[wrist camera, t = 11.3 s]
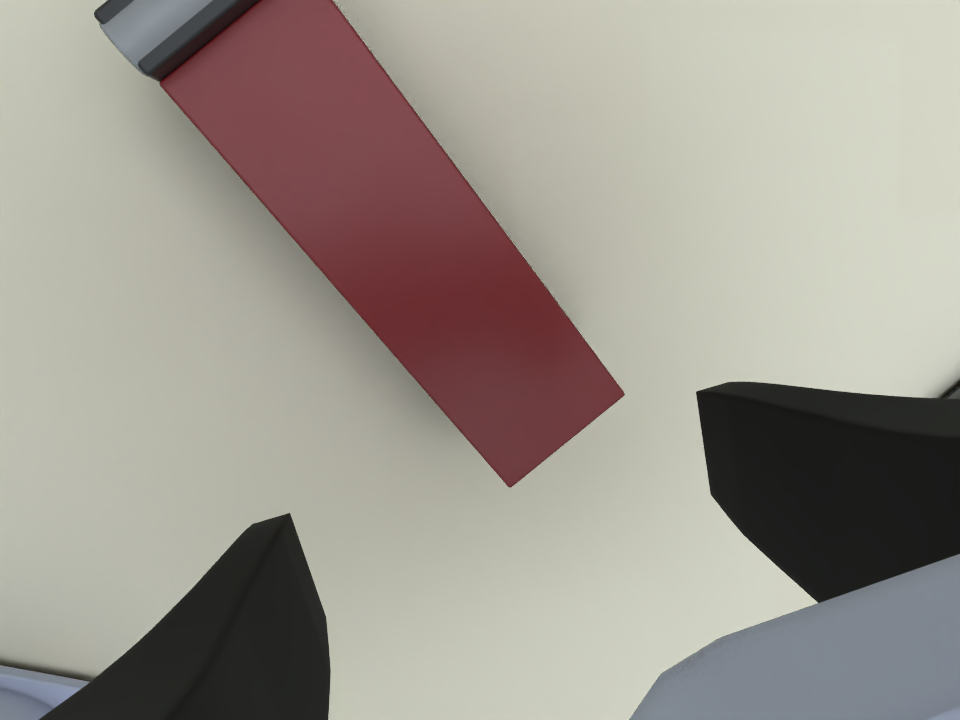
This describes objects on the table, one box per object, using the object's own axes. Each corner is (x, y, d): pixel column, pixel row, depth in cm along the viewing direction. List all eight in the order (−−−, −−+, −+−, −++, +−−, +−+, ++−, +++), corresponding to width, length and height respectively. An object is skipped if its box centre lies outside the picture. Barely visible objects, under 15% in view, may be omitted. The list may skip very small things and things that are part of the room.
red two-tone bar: (573, 356, 21) (651, 415, 16) (478, 432, 21) (526, 517, 16) (276, -36, 17) (252, -126, 12) (160, 60, 17) (85, 12, 12)
